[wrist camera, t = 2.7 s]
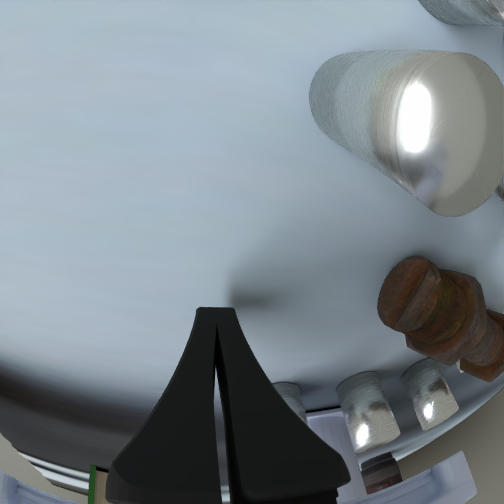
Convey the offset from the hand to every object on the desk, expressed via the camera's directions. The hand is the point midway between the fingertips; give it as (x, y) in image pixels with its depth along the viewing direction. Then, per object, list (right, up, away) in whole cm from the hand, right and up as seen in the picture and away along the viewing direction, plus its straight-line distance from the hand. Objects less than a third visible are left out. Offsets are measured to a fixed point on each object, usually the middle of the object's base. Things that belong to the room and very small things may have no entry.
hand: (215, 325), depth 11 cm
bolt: (+13, 0, +4) cm, 14 cm away
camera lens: (+27, -40, +32) cm, 58 cm away
